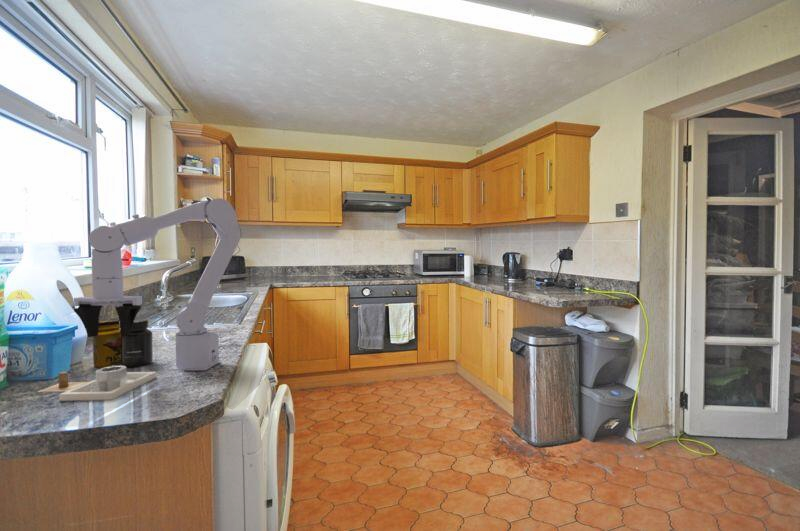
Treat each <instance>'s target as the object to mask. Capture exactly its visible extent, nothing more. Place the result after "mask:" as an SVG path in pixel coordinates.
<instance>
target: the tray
mask: <svg viewBox="0 0 800 531" xmlns="http://www.w3.org/2000/svg"><path fill="white" fill-rule="evenodd" d="M155 379H157V371H130V372H129V371H128V372H127V384H125V385H123V386H121V387H119V388H117V389H115V390H112V391H109V392H92V385H94V384H96V379H93V380H91V381H87V382H88V383H85V384H83V385H80V386H78V387H76V388H73V389H71V390H68V391H66V392H62V393H60V394H59V395H58V396H59V402H79V401H80V402H81V401H85V402H87V401H92V402H93V401H113V400H115V399H116V398H119V397H121V396H122V395H125V394H127V393H129V392H131V391H133V390H134V389H137V388H138V387H140V386H143V385H144V384H146V383H149V382H150V381H151V382H152V380H155Z"/></svg>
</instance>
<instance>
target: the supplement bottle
mask: <svg viewBox="0 0 800 531" xmlns="http://www.w3.org/2000/svg"><path fill="white" fill-rule="evenodd" d="M148 328H149V320H148V319H134V322H133V325H132V328H131V332H130V335H128V336H124V337H121V363H120V364H121V365H120V366H126V367H127V369H136V368H140V367H147V366H149V365H151V364H153V360H154V359H153V354H154V353H153V349H154V348H153V343H154V342H153V341H154V340H153V335H154V334H153V331H152V330H150V329H148Z"/></svg>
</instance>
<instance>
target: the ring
mask: <svg viewBox="0 0 800 531" xmlns="http://www.w3.org/2000/svg"><path fill="white" fill-rule="evenodd" d="M127 370H128V368H127V367H126V366H121V365H114V366H108V367H100V368H99V369H96V370H95V380H96V384H94V385H92V392H109V391H112V390H115V389H117V388H119V387H121V386H123V385H125V384H127Z"/></svg>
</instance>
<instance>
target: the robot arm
mask: <svg viewBox="0 0 800 531" xmlns="http://www.w3.org/2000/svg"><path fill="white" fill-rule="evenodd" d="M205 220H207V222H208V223H209V224H210V225H211V226H212V227H213V228H214V230H215V232H216V234H217V236H218V239H219V240H218V242H217V245H216V246H215V248H214V250H213V253H212V255H211V256H210V258H209V260H208V262H207V264H206V266H205V269H204V270H203V273H202V274H201V276H200V277H199V278H200V279H199V280H198V282H197V284H196V287H195V289H194V290H193V293H192V295H191V296H190V298H189V300H188V302H187V303H186V305H184V306H183V307H182V308H180V310H178V313H177V318H176V326H177V328H178V329H177V330H175V331H174V334H175V365H173V366H171V367H169V368H168V369H167V370H168V371H184V372H185V371H208V370H209V369H210V368H212V367H214V366H216V365H217V364H219V363H220V362H221V360H220V358H219V357H220V356H219V355H220V354H219V353H220V351H219V349H220V348H219V337H218V334H217V333H216V332H210V331H208V328H207V327H205V325H206V313H207V311H208V309H209V306H210V304H211V301H212V298H213V296H214V295H215V293H216V291H217V288H218V286H219V284H220V282H221V280H222V277H223V275H224V274H225V271H226V269H227V268H228V265H229V263H230V262H231V260H232V257H233V255H234V254H235V251H236V250H237V249H236V248H237V246H238V244H239V243H240V240H241V235H240V234H241V233H240V229H239V224H238V216H237V212H236V211H235V208H234V207H233V206H232V204H231V203H230V201H228V200H227V199H224V198H220V197H218V198H213V199H212V200H210V201H209V200H202V201H200V202H195V203H192V204H191V203H190V204H189V205H186V206H183V207H180V208H177V209H174V210H172V211H169V212H166V213H162V214H161V215H157V216H154V217H151V216H149V215H145V214H143V215H139V214H134V215H132V218H130V219H127V220H123V221H120V222H117V223H116V222H115V221H113V222H110V223H109V225H108V226H107V225H100V226H98V227H96V228H95V229H92V231H91V232H90V233H89V236H88V242H89V245H90V246H91V247H92V248H91V256H92V257H91V280H92V281H91V284H92V285H91V286H92V296H82V297H81V296H80V297H74V298H73V306H74V307H77V308H74V313H75V314H76V315H77V316H78V318H79V319H80V320H81V322H82V324H83V326H84V329H85V332H86V334H87V338H93V336H97V335H98V321H100V319H99V318H100V313H101V310H102V307H103V306H116V307H115V311H116V313H117V316H118V320H119V322H120V324H119V326H120V328H119V329H120V333H121V337H124V336H128V335H130V332H131V328H132V325H133V322H134V320H136V317H137V315H138V313H139V311H140V310H141V308H142V305H143V296H141V295H140V296H137V295H135V296H133V295H132V296H131V295H124V282H123V281H124V278H123V276H124V275H123V259H122V248H123V247H124V246H126V247H129V246H132V245H135V244H138V243H141V242H143V241H147V240H150V239H152V238H156V236H157V234H158V232H159V231H160V230H162V229H165V228H169V227H173V226H176V225H179V224H183V223H185V222H190V221H198V222H202V223H203V222H205Z"/></svg>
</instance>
